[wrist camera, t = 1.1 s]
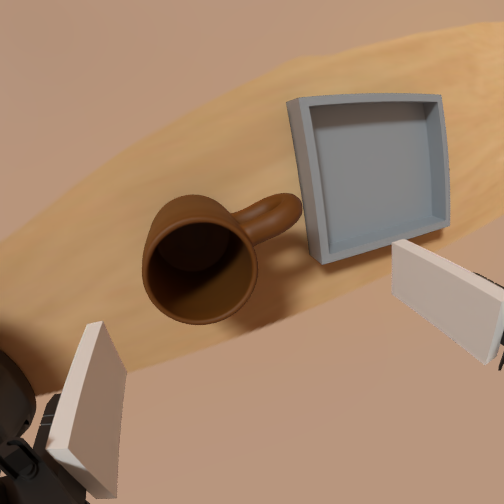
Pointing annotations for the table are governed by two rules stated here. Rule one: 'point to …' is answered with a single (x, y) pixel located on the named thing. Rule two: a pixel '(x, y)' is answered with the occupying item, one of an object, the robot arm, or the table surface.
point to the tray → (370, 169)
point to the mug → (209, 254)
